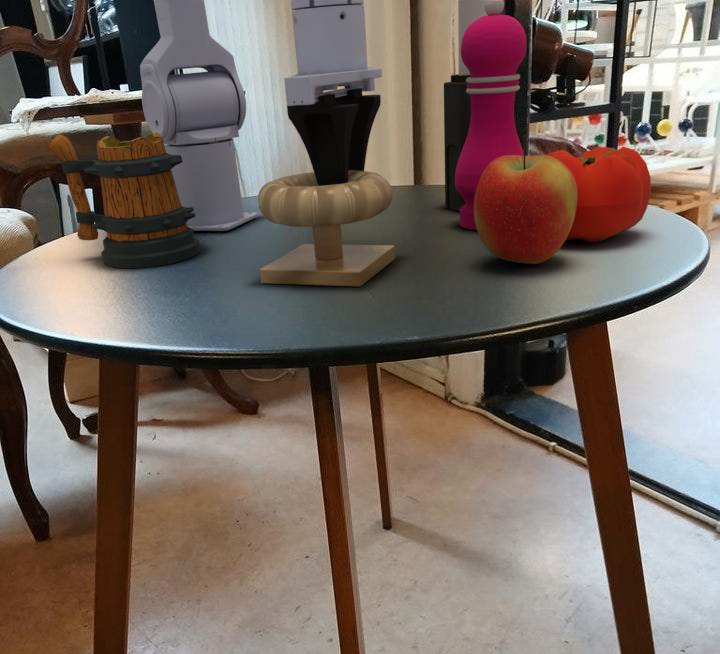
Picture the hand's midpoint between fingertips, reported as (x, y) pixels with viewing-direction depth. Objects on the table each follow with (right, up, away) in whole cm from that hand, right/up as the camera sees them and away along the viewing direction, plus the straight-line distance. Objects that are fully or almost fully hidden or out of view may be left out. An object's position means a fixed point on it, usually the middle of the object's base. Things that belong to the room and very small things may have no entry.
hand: (341, 190), depth 67 cm
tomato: (+23, -3, +4) cm, 23 cm away
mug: (-21, -3, +10) cm, 23 cm away
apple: (+15, -7, -2) cm, 17 cm away
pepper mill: (+15, +1, +12) cm, 19 cm away
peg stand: (-1, -7, 0) cm, 7 cm away
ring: (-1, -2, -3) cm, 4 cm away
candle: (+14, +6, +20) cm, 25 cm away
